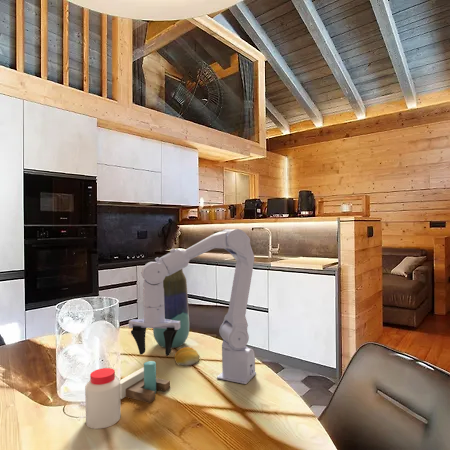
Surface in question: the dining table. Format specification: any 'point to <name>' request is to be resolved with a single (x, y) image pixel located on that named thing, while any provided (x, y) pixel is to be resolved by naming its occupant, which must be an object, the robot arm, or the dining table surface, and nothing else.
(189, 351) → the bread roll
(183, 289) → the vase
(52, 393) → the dining table surface
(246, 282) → the robot arm
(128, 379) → the board
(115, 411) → the pill bottle
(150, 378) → the dowel
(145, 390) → the block
